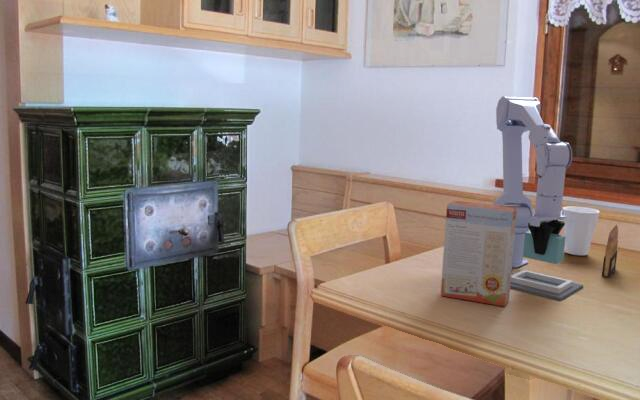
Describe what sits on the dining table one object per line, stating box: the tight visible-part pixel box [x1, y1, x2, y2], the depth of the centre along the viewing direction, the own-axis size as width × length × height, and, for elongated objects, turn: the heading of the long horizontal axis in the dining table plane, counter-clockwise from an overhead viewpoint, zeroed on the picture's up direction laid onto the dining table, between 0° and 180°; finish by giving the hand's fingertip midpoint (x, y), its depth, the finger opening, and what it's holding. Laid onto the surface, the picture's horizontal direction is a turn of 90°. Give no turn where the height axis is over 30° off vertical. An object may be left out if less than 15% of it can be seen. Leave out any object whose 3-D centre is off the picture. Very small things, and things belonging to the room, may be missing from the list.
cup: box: [561, 205, 600, 256], centre depth 178 cm, size 10×10×13 cm
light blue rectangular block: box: [523, 230, 566, 265], centre depth 145 cm, size 4×8×6 cm, turn 48°
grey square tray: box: [510, 269, 584, 302], centre depth 147 cm, size 15×14×2 cm
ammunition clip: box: [601, 224, 619, 279], centre depth 160 cm, size 11×2×12 cm, turn 148°
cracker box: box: [440, 200, 517, 307], centre depth 134 cm, size 14×6×21 cm, turn 64°
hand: (543, 252), depth 145 cm, fingers closed on light blue rectangular block, 4 cm apart
